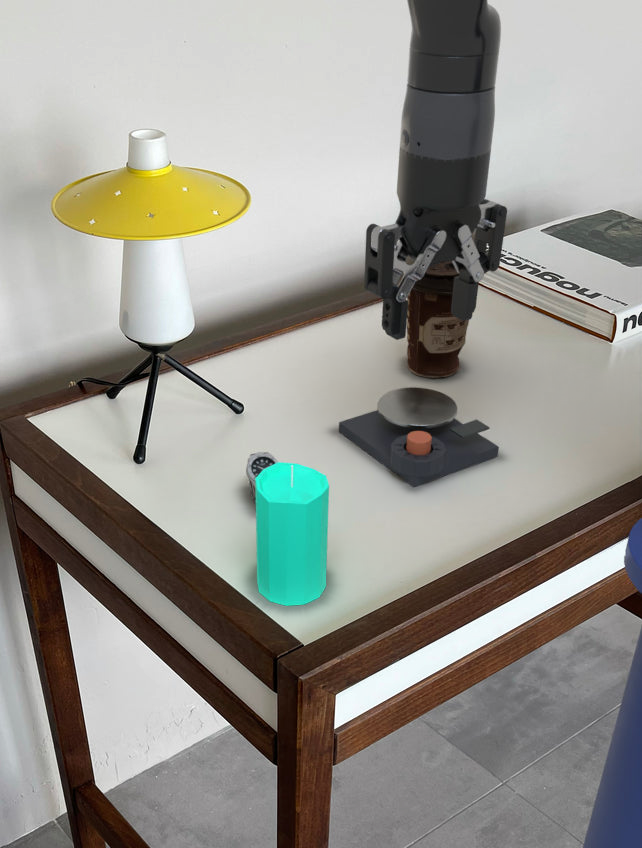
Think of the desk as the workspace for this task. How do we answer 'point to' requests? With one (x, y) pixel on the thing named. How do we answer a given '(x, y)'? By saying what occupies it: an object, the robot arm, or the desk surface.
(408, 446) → the tare button
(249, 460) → the wristwatch
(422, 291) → the coffee cup
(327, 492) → the candle
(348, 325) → the desk surface
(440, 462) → the scale
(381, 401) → the scale pan
